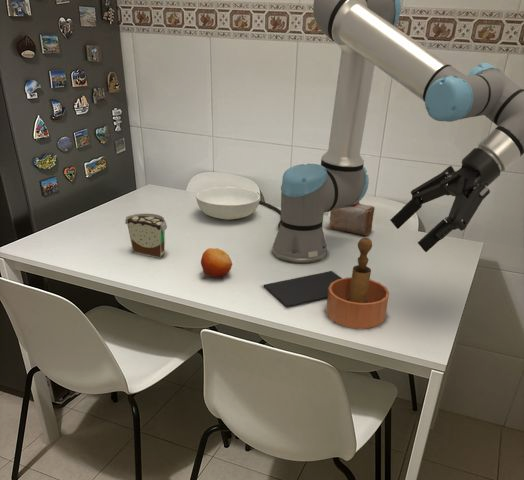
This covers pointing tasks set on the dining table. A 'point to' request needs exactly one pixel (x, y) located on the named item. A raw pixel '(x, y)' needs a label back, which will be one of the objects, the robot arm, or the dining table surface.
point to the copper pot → (357, 305)
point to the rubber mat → (302, 288)
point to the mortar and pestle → (361, 274)
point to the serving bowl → (228, 202)
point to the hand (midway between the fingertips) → (406, 235)
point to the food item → (353, 219)
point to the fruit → (215, 263)
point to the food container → (147, 234)
